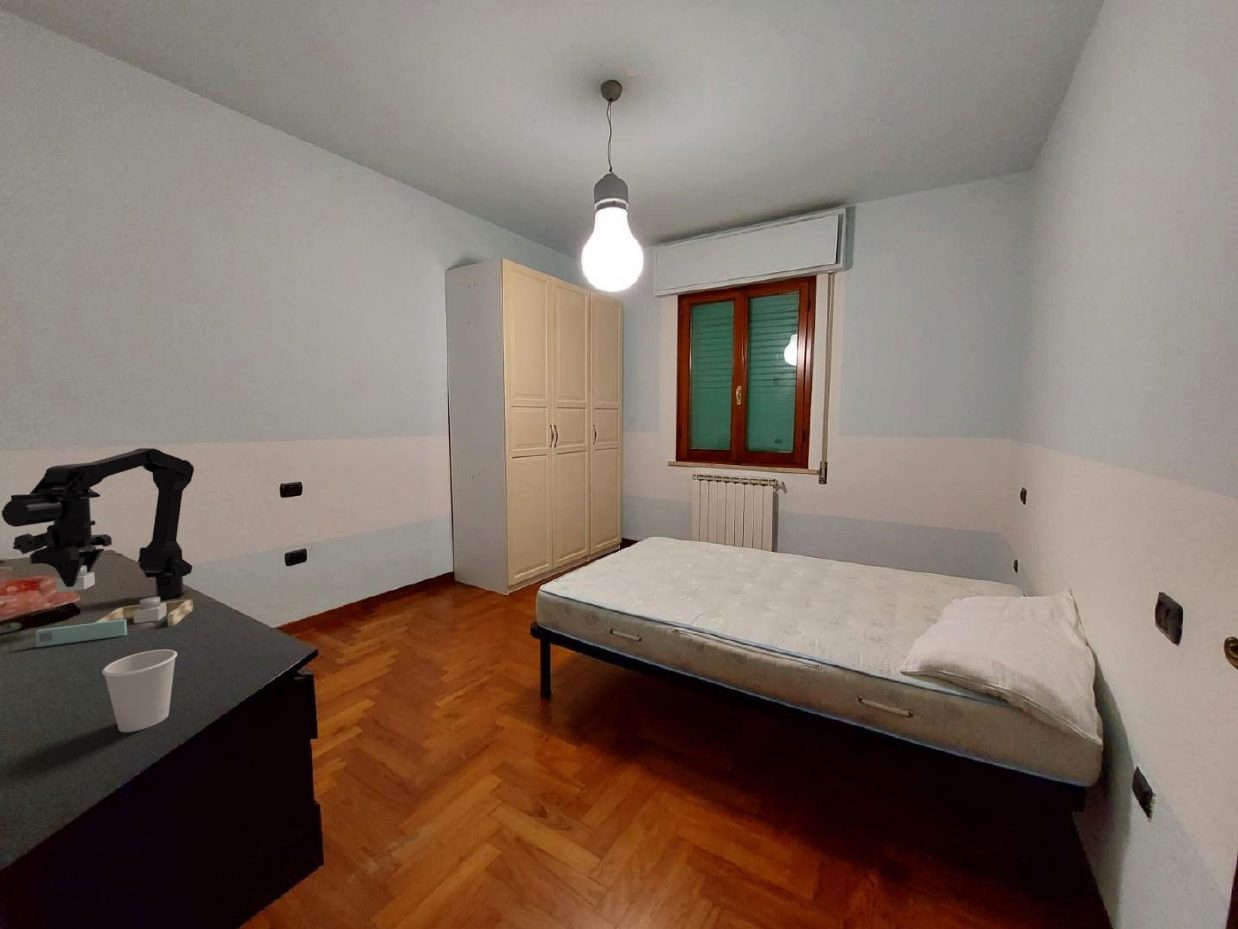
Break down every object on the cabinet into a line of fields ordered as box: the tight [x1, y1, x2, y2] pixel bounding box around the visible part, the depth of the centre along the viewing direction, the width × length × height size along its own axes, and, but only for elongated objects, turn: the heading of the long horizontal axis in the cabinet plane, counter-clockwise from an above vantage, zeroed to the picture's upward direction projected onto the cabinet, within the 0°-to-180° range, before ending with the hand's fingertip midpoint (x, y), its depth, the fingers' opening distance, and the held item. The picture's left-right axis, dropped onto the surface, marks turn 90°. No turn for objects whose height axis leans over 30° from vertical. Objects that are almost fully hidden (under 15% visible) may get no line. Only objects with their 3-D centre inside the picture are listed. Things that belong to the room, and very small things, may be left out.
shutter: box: [35, 619, 128, 648], centre depth 103 cm, size 1×14×4 cm, turn 115°
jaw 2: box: [133, 596, 168, 624], centre depth 116 cm, size 4×4×5 cm
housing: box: [94, 598, 194, 632], centre depth 114 cm, size 12×14×3 cm
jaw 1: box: [55, 565, 96, 593], centre depth 109 cm, size 4×4×5 cm
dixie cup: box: [101, 648, 178, 733], centre depth 74 cm, size 8×8×10 cm
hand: (76, 583), depth 109 cm, fingers closed on jaw 1, 4 cm apart
